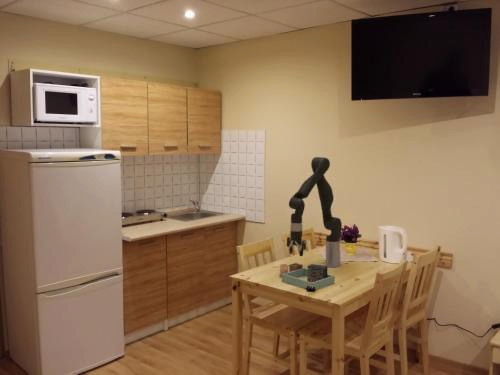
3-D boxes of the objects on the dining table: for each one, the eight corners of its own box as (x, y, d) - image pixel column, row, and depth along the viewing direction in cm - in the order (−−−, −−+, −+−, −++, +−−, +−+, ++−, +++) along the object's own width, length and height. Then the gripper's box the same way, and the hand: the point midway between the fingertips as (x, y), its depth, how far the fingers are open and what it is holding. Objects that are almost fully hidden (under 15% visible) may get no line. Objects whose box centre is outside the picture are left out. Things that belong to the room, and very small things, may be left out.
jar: (283, 275, 292) (283, 263, 292) (289, 276, 289) (289, 264, 288) (278, 276, 289) (278, 264, 288) (284, 278, 286) (284, 266, 285)
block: (295, 272, 299) (295, 262, 298) (302, 274, 295) (302, 264, 294) (289, 273, 295) (289, 264, 294) (296, 275, 291) (296, 266, 290)
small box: (327, 282, 276) (328, 265, 275) (323, 285, 270) (324, 268, 269) (311, 280, 281) (311, 263, 280) (307, 283, 276) (307, 265, 275)
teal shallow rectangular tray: (304, 274, 292) (304, 267, 292) (334, 283, 275) (334, 276, 274) (281, 281, 279) (281, 274, 279) (312, 290, 261) (312, 283, 261)
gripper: (308, 230, 289) (308, 256, 291) (292, 227, 300) (291, 251, 301) (300, 232, 284) (300, 258, 286) (284, 228, 295) (283, 253, 296)
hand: (296, 254), depth 293 cm, fingers open, 8 cm apart
